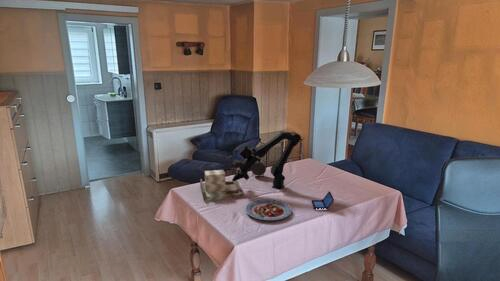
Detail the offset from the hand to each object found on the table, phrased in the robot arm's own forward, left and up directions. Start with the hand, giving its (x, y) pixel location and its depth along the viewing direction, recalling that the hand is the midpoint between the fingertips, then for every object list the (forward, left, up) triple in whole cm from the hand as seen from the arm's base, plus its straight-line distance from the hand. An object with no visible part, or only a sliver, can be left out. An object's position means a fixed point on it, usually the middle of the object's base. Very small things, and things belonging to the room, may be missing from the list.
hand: (232, 180), depth 207 cm
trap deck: (+5, +6, -7) cm, 10 cm away
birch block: (+7, +9, -4) cm, 12 cm away
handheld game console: (-55, -15, -7) cm, 58 cm away
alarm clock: (+2, -32, -7) cm, 33 cm away
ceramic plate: (-34, +10, -7) cm, 36 cm away
